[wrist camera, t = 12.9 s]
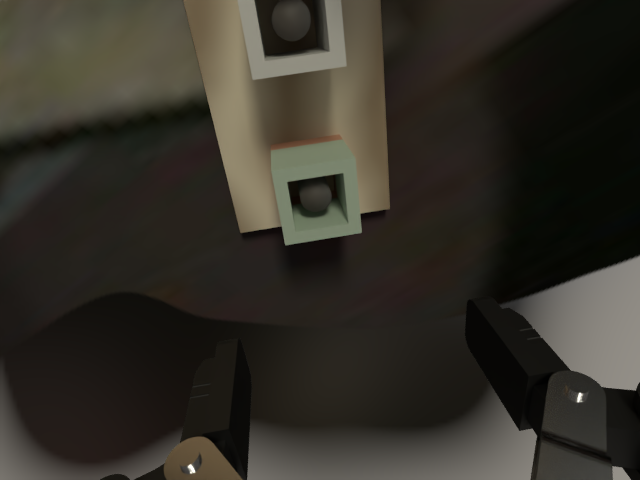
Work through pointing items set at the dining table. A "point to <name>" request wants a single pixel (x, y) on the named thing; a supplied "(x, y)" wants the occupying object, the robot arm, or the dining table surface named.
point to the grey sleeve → (296, 61)
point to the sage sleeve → (310, 163)
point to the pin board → (292, 102)
